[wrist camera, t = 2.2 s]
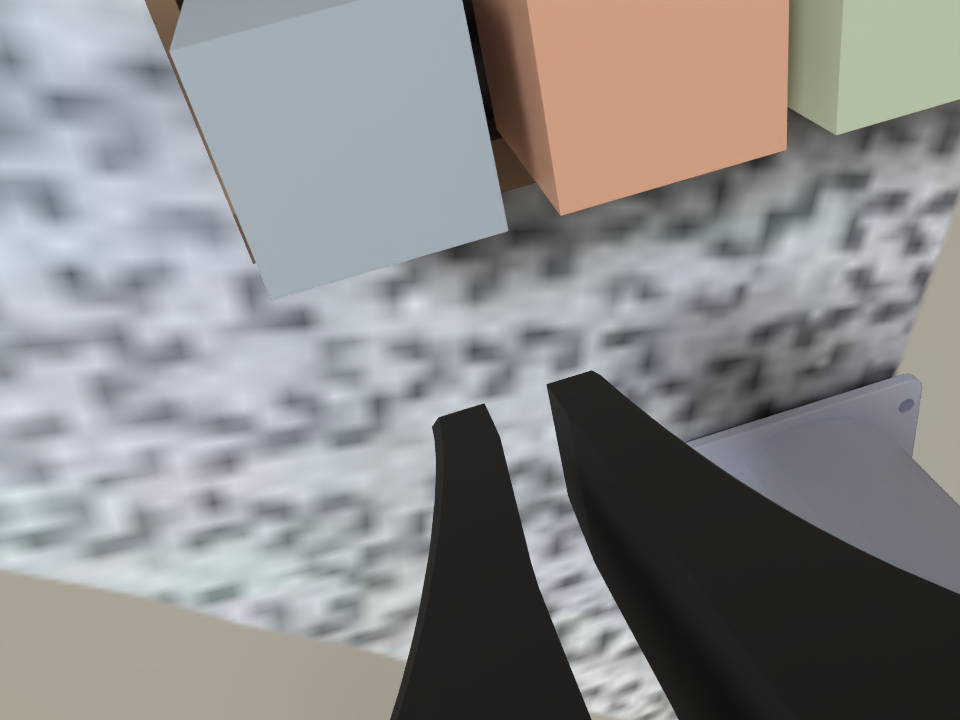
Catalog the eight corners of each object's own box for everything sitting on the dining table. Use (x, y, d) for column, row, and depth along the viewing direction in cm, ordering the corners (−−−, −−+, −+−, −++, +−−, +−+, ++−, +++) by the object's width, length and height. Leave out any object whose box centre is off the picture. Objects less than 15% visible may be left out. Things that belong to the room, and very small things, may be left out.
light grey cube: (454, 140, 17) (508, 231, 14) (265, 194, 17) (271, 300, 14) (407, -70, 15) (457, -27, 12) (187, -13, 15) (169, 50, 11)
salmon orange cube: (678, 77, 18) (786, 149, 14) (496, 129, 18) (560, 215, 14) (665, -139, 15) (791, -117, 12) (455, -83, 15) (520, -44, 12)
